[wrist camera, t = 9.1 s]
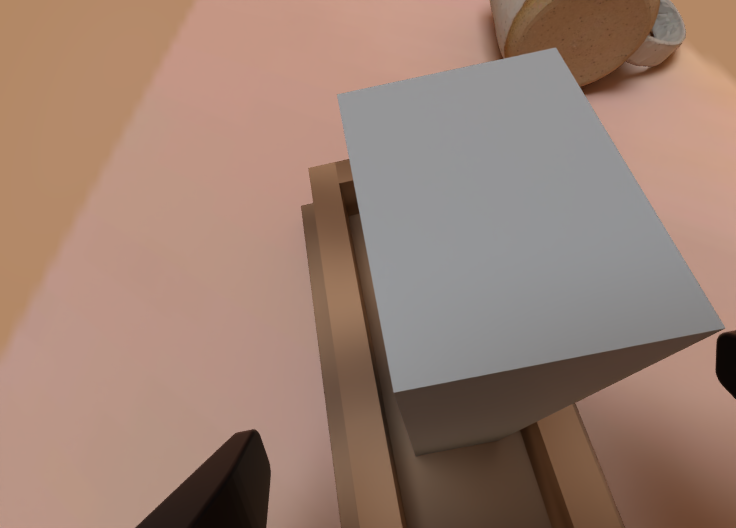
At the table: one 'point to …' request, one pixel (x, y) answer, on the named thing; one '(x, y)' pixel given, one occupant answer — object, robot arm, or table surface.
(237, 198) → the table surface
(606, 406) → the table surface
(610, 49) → the ceramic mug
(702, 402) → the table surface
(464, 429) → the tall grey pillar block
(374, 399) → the open rectangular wooden box
